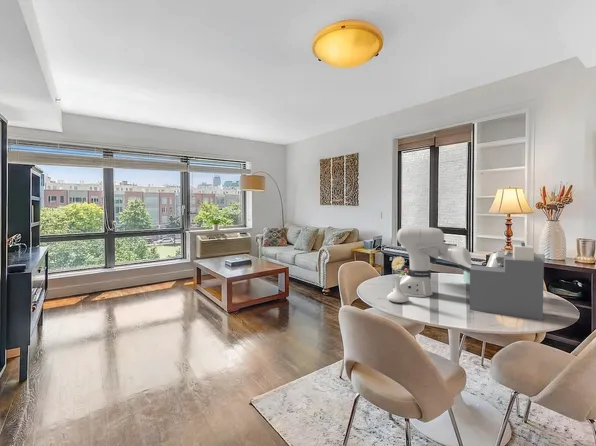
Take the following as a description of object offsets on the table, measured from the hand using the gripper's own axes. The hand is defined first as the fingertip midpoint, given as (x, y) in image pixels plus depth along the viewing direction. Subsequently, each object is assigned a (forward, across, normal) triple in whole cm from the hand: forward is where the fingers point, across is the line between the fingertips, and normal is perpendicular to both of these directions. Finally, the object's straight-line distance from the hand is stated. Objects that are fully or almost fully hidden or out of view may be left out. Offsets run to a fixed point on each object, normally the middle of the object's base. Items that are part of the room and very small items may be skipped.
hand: (520, 252), depth 147 cm
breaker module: (+4, 0, -4) cm, 6 cm away
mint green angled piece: (-52, +19, -3) cm, 55 cm away
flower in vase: (+4, +54, -35) cm, 65 cm away
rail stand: (-5, +7, -29) cm, 31 cm away
